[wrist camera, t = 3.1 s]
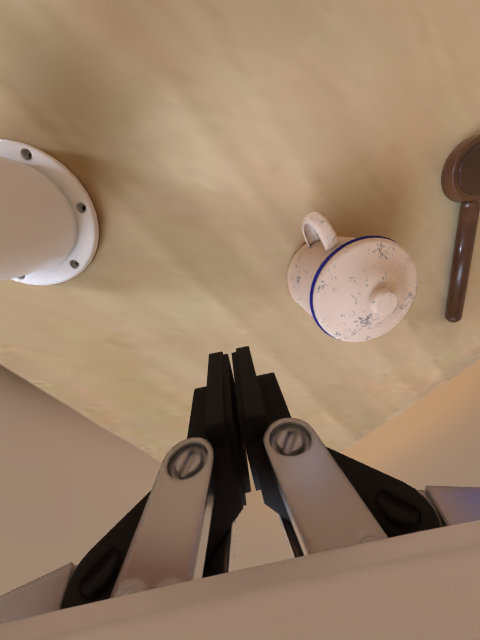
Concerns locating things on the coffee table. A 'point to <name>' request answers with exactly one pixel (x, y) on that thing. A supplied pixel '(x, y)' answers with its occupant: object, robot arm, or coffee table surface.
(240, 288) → the coffee table surface
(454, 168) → the walnut spoon
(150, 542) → the robot arm
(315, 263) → the teacup with lid
